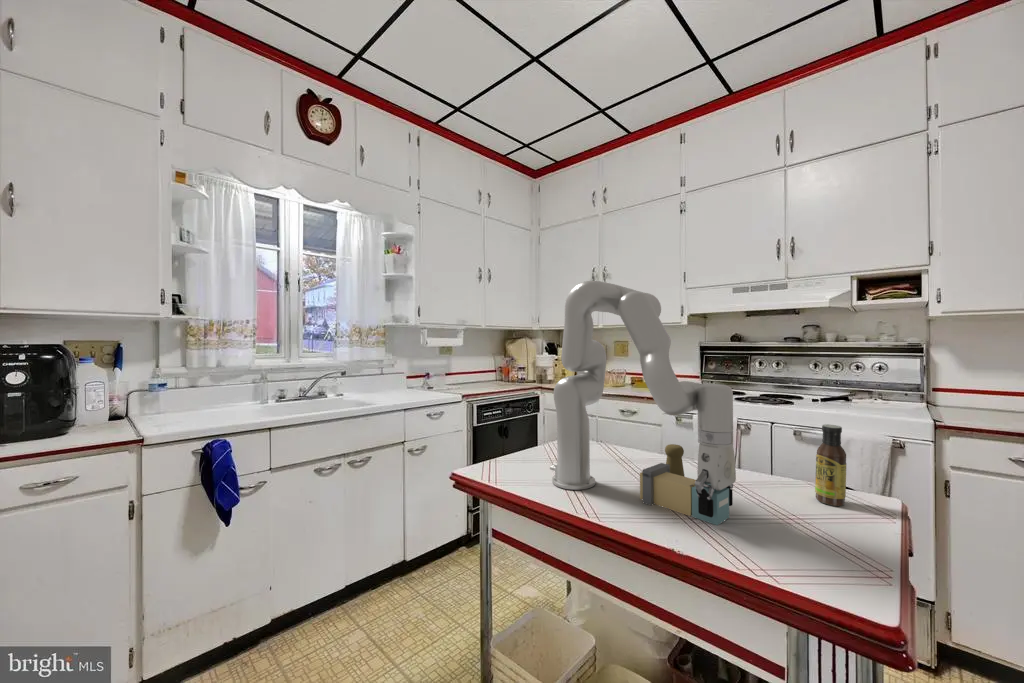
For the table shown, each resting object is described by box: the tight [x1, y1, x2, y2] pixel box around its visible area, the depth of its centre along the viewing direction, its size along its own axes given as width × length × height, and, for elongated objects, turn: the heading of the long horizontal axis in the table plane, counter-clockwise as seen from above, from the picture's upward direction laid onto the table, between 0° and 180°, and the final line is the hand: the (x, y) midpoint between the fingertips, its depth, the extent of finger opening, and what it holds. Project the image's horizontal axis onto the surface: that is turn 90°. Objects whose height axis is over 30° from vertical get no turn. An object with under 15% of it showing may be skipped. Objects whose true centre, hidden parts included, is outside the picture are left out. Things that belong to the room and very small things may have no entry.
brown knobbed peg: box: [664, 443, 686, 477], centre depth 124 cm, size 6×6×11 cm
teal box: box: [691, 484, 730, 526], centre depth 100 cm, size 6×6×7 cm
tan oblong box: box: [639, 462, 697, 517], centre depth 108 cm, size 14×9×9 cm, turn 39°
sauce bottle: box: [814, 423, 847, 507], centre depth 108 cm, size 6×6×20 cm
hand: (715, 509), depth 99 cm, fingers open, 9 cm apart
